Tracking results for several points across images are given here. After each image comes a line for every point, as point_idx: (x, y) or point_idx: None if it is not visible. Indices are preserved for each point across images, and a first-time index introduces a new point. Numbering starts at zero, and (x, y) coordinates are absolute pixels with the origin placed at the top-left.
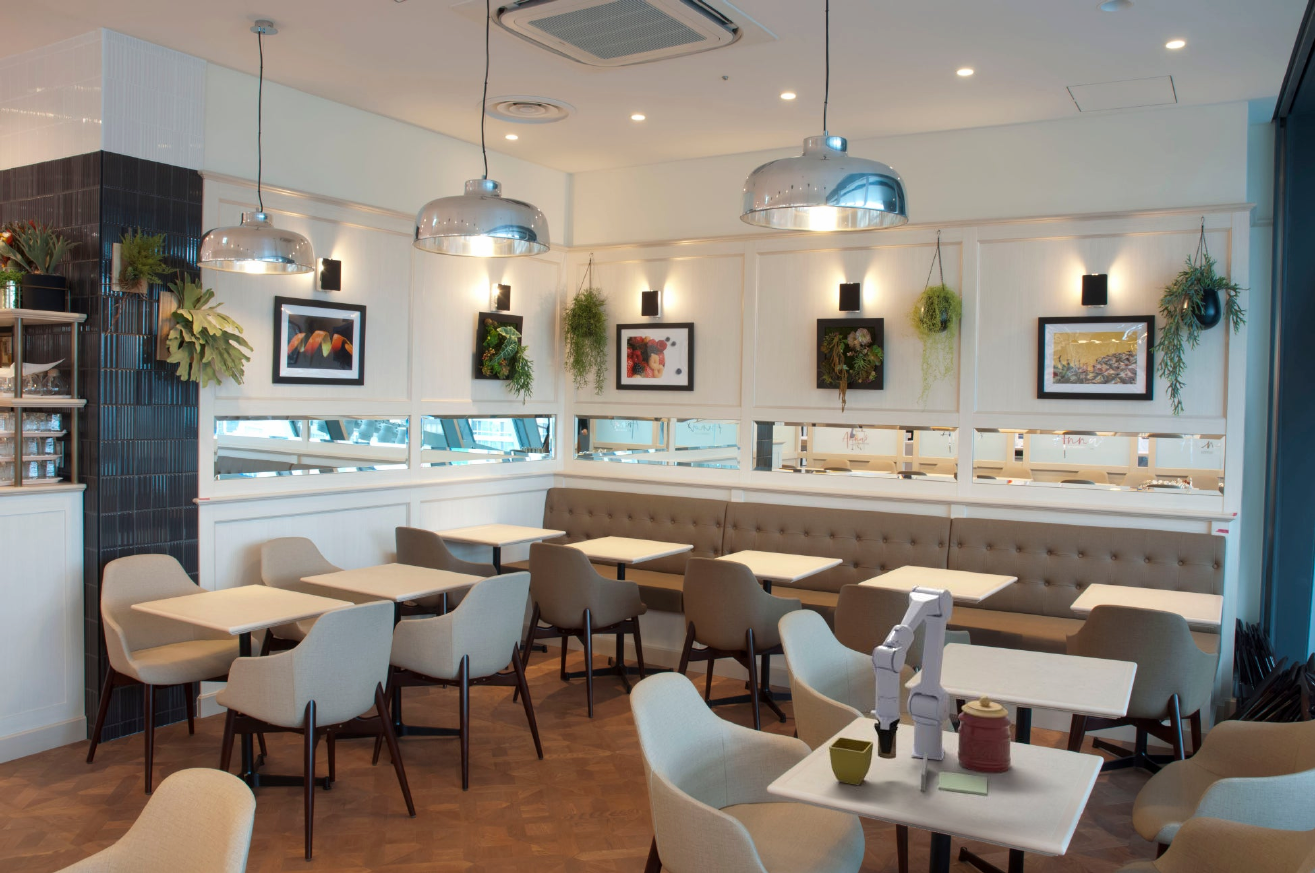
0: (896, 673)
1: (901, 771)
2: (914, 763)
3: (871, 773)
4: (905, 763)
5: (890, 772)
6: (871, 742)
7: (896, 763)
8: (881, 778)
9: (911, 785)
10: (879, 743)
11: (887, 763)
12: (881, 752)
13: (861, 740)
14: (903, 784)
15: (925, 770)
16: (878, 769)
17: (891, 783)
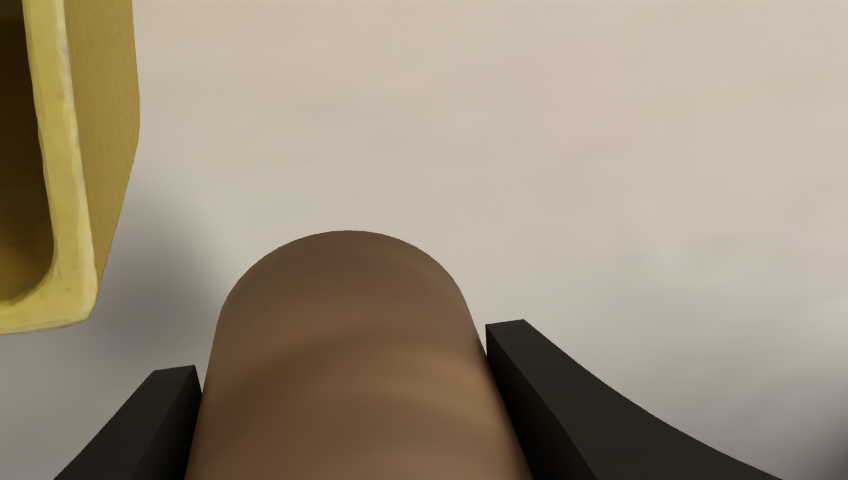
0: None
1: (530, 320)
2: (775, 369)
3: (343, 64)
4: (757, 305)
5: (462, 238)
6: (31, 305)
7: (738, 235)
8: (241, 196)
9: None
10: (227, 390)
11: (716, 157)
12: (214, 345)
13: (49, 51)
14: None
15: None
16: (503, 110)
17: (151, 311)
